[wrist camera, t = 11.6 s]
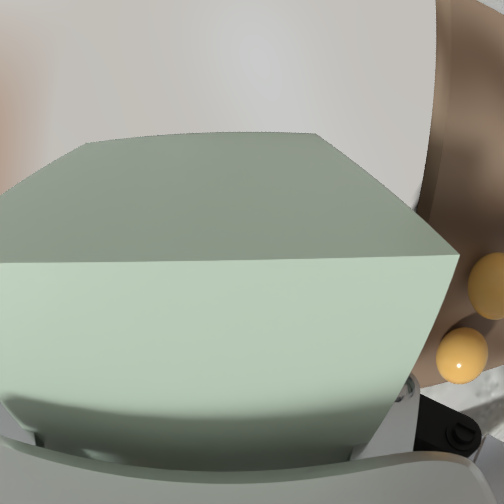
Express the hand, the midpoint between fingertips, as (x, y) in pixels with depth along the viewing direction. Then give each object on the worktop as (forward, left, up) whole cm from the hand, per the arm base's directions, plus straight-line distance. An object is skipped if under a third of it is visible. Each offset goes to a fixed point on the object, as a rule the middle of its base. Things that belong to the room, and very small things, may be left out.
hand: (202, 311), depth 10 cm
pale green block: (0, 0, -1) cm, 1 cm away
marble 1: (+4, +12, 0) cm, 13 cm away
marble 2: (0, +12, 0) cm, 13 cm away
